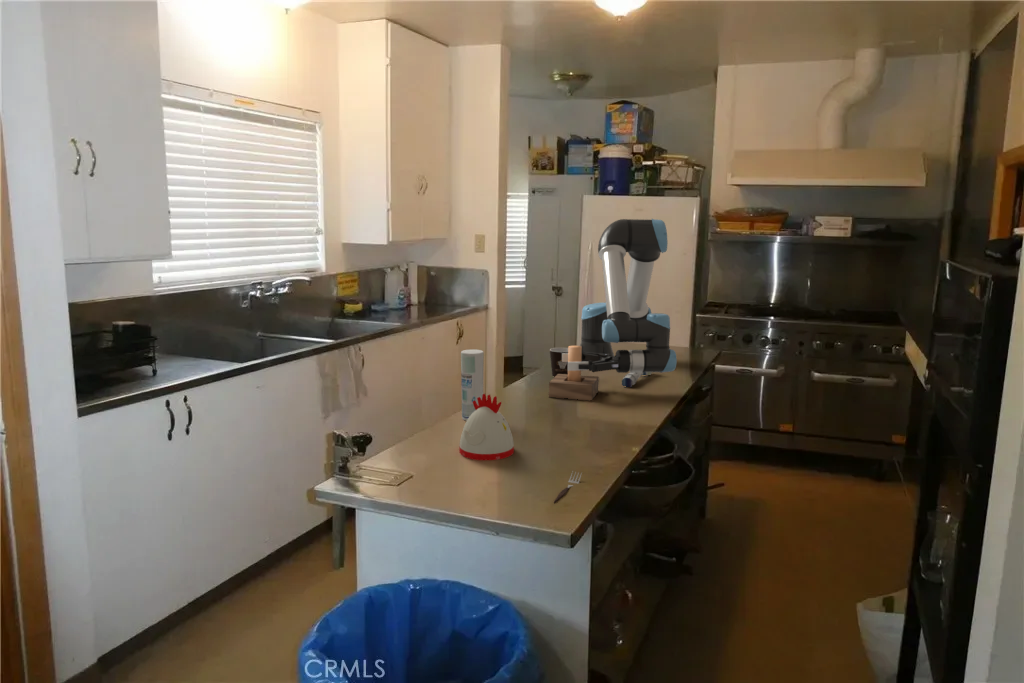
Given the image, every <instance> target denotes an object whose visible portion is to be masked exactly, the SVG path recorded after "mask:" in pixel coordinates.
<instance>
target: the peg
mask: <svg viewBox="0 0 1024 683" xmlns="http://www.w3.org/2000/svg"><path fill="white" fill-rule="evenodd" d="M567 348H568V362H581V358H582V347H581V346H580V345H569V346H568V347H567ZM581 375H582V370H577V371H568V381H572V382H581Z"/></svg>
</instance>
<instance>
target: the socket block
mask: <svg viewBox="0 0 1024 683" xmlns="http://www.w3.org/2000/svg"><path fill="white" fill-rule="evenodd" d="M596 393H599V376H598V375H597V376H595V375H582V374H581V382H572V381H568V375H567V374H557V375H556V376H555V377H554V378H553V377H552V379H551V380H550V381H549V384H548V398H550V397H556V398H555V399H564V398H568V399H567V400H577V399H578V401H579V400H581V401H590V400H592V401H593V399H594V398H595V396H596V395H597V394H596Z"/></svg>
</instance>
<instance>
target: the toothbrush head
mask: <svg viewBox="0 0 1024 683" xmlns="http://www.w3.org/2000/svg"><path fill="white" fill-rule="evenodd" d="M651 374H653V372H638V374H636V373H635V372H630V371H629V373H627V374H625V375H624V376H623V378H622V379H621V386H622V387H623V386H626V387H630V388H632V387H633V386H635V385H636V384H637V381H638V380H639V378H640V377H642V376H641V375H651ZM651 376H652V375H651ZM632 385H633V386H632ZM626 387H625V388H626Z"/></svg>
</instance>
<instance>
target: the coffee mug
mask: <svg viewBox="0 0 1024 683" xmlns="http://www.w3.org/2000/svg"><path fill="white" fill-rule="evenodd" d="M562 353H568V347H553V348H552V347H551V348H550V349H549V354H550V355H549V356H550V368H551V375H552V376H554V377H555V376H556V375H557V374H567V375H568V362H562ZM552 376H551V377H552Z"/></svg>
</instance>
